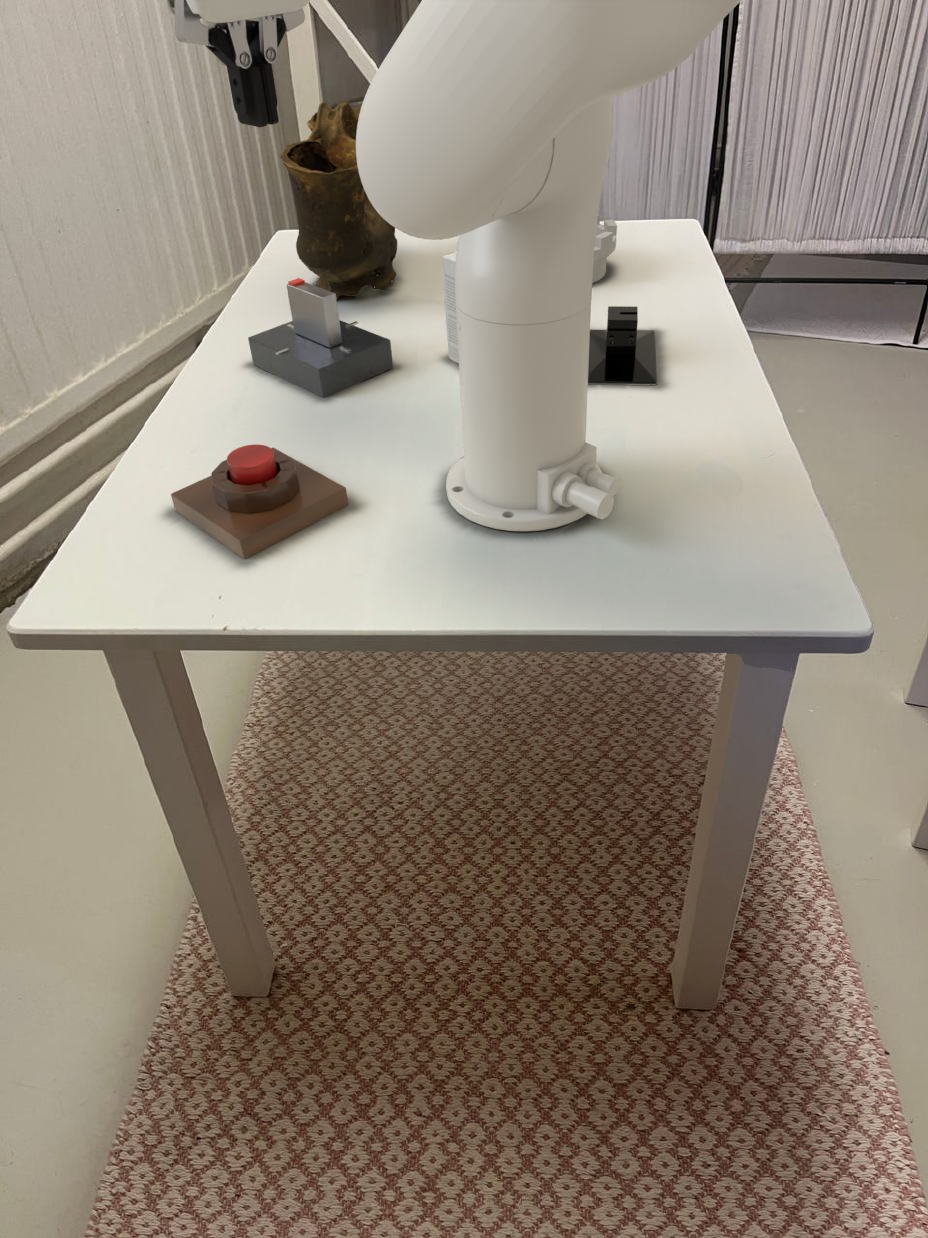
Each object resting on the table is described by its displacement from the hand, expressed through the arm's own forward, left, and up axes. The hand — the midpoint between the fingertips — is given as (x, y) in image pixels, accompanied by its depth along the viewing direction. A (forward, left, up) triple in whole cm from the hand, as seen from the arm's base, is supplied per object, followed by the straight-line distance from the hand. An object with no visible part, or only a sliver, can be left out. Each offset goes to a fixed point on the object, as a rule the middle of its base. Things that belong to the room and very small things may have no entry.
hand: (258, 122), depth 72 cm
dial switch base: (+7, -7, -25) cm, 26 cm away
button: (-11, +13, -21) cm, 27 cm away
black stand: (-15, -28, -25) cm, 40 cm away
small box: (-5, -20, -25) cm, 32 cm away
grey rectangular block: (+7, -7, -21) cm, 24 cm away
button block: (-11, +13, -25) cm, 30 cm away
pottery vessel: (+23, -25, -25) cm, 42 cm away
